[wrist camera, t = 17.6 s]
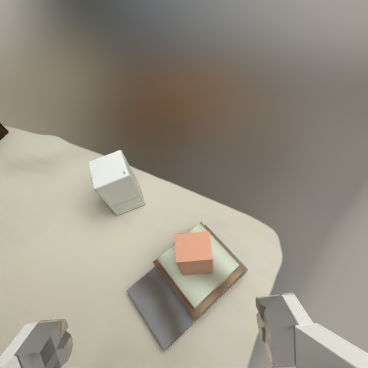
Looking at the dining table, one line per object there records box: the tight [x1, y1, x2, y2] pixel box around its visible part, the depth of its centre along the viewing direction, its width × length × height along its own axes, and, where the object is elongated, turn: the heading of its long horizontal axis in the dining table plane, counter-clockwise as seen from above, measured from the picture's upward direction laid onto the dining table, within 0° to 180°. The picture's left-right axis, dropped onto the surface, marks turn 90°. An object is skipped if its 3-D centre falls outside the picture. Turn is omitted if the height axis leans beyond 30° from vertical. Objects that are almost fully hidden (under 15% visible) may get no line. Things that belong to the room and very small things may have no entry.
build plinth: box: [127, 223, 248, 350], centre depth 43 cm, size 20×12×8 cm, turn 129°
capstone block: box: [175, 231, 213, 275], centre depth 37 cm, size 4×5×9 cm
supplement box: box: [88, 150, 145, 216], centre depth 52 cm, size 7×7×13 cm
